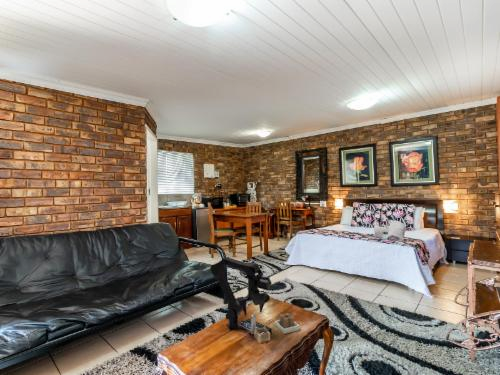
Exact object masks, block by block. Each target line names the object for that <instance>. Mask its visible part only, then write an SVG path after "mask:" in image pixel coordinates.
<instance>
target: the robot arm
mask: <svg viewBox="0 0 500 375" xmlns="http://www.w3.org/2000/svg"><path fill="white" fill-rule="evenodd" d="M226 267H229V268H234V269H237V270H240V271H242V272H243V273H244V274H245V276H244V279H247V287H246V289H247V296H246V298H245V297H244V296H240V297H236V296H235V294H234V292H233V289H232V288H231V285H230V283H229V281H228V279H227V277H226V276H227V275H226ZM209 270H210V272H211V275H212V276H213V277H214V278H215V279H217V281H218V283H219V286H220V288H221V290H222V292H223V295H224V297H225V299H226V301H227V310H228V312H227V313H226V314H225V319H226V320H228V324H226V327H227V328H228V330H229V331H233V330H234V331H235V330H238V329H241V326H240V325H239V316H241V314H242V313H244V316H245V317H247V303H249V302H252V303H253V305H254V306H259V307H258V308H259V313H262V312H263V309H264V306H265V304H266V303H268V302H269V301H271V297H270V295H269V294H268V293H267V292H265V291H264V292H260V289H261V290H266V291H270V290H271V288H272V280H271V279H270V276H264V274H263V272H262V270H261V268H260V266H259V264H258V263H256V262H244V261H240V260H237V259H234V258H231V257H229V256H226V257H224V258H222V259H221V260H220V261H218V262H216V263H214V264H211V265H210V268H209ZM239 326H240V327H239Z"/></svg>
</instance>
